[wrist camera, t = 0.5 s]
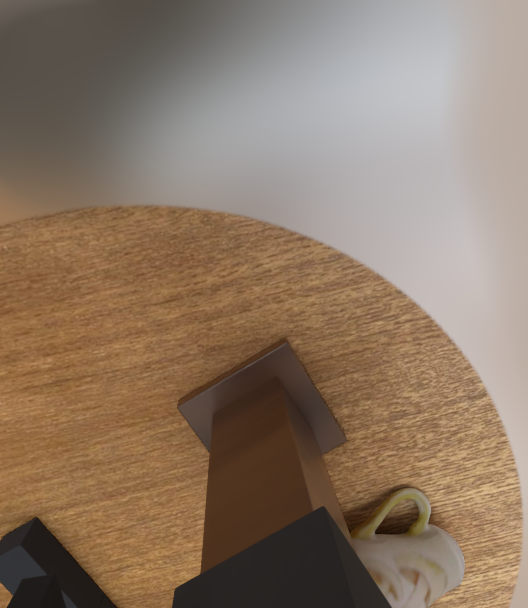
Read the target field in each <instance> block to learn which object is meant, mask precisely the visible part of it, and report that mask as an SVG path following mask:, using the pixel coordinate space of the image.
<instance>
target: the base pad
mask: <svg viewBox="0 0 528 608" xmlns="http://www.w3.org/2000/svg"><path fill="white" fill-rule="evenodd" d="M50 574H56V575H57V579H58V582H59V585H60V588H61V592H62V595H63V598H64V602H65V605H66V608H116V607H115V606H114V604H113V603H112V602H111V601H110V600H109V599H108V598H107V597H106V595H105V594H104V593H103V592H102V591H101V590H100V588H99V587H98V586H97V585H96V584H95V583H94V582H93V580H92V579H91V578H90V577H89V576H88V575H87V574H86V573H85V571H84V570H83V569H82V568H81V567H80V566H79V565H78V564H77V562H76V561H75V560H74V559H73V558H72V557H71V556H70V555H69V553H68V552H67V551H66V550H65V549H64V548H63V547H62V545H61V544H60V543H59V542H58V541H57V540H56V539H55V538H54V536H53V535H52V534H51V533H50V532H49V531H48V530H47V529H46V527H45V526H44V525H43V524H42V523H41V522H40V521H39V520H38V518H37V517H36V518H34V519H32V520H31V521H29V522H27V523H26V524H24V525H22V526H20V527H19V528H17V529H15V530H14V531H12V532H10V533H8V534H7V535H5V536H3V538H2V540H1V541H0V582H1V583H2V584H3V585H4V586H5V588H6V589H7V590H8V591H9V592H10V593H11V594H12V595H14V593H15V592H16V590H17V588H18V586H19V584H20V582H21V580H22V579H26V578H32V577H38V576H44V575H50Z"/></svg>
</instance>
